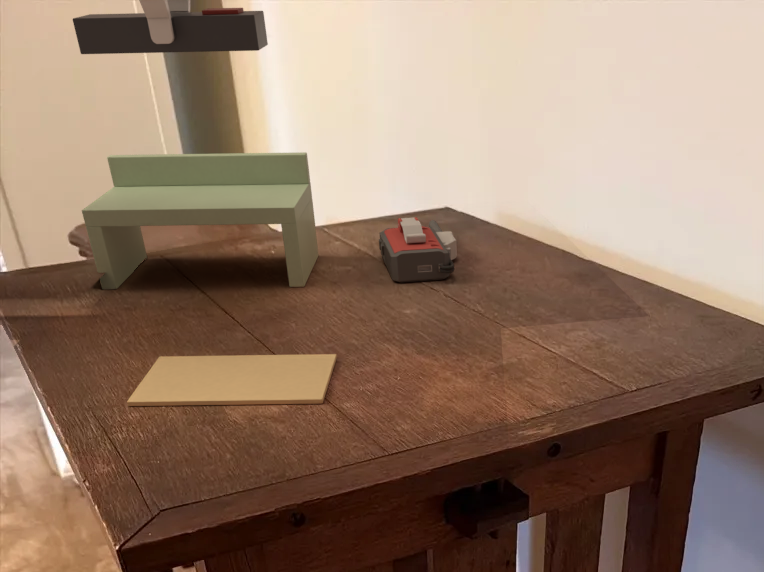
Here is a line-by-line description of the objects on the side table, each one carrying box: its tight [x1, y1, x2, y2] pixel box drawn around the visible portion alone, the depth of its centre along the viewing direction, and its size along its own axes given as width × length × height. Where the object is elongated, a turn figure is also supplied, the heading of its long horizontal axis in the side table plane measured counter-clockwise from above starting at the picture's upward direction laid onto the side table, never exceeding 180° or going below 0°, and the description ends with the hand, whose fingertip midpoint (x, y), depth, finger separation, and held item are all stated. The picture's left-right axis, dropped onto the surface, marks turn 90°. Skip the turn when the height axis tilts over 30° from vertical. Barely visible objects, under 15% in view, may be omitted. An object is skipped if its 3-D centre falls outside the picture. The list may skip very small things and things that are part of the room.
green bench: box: [81, 151, 319, 290], centre depth 100 cm, size 22×12×11 cm, turn 90°
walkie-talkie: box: [378, 216, 458, 283], centre depth 106 cm, size 9×4×20 cm
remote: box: [72, 7, 269, 55], centre depth 78 cm, size 15×4×3 cm, turn 91°
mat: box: [126, 353, 338, 407], centre depth 79 cm, size 16×10×1 cm, turn 90°
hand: (173, 39), depth 78 cm, fingers closed on remote, 4 cm apart
